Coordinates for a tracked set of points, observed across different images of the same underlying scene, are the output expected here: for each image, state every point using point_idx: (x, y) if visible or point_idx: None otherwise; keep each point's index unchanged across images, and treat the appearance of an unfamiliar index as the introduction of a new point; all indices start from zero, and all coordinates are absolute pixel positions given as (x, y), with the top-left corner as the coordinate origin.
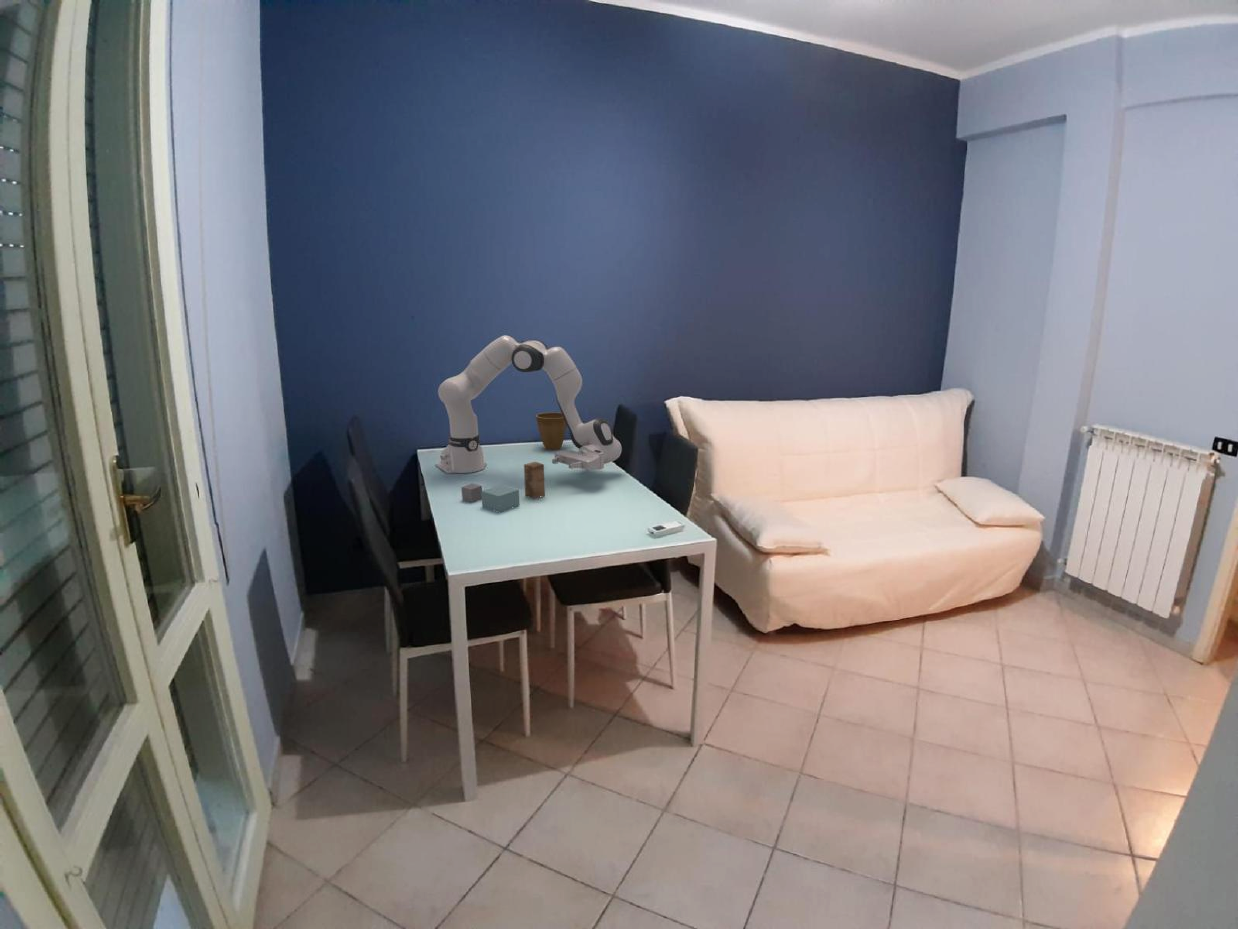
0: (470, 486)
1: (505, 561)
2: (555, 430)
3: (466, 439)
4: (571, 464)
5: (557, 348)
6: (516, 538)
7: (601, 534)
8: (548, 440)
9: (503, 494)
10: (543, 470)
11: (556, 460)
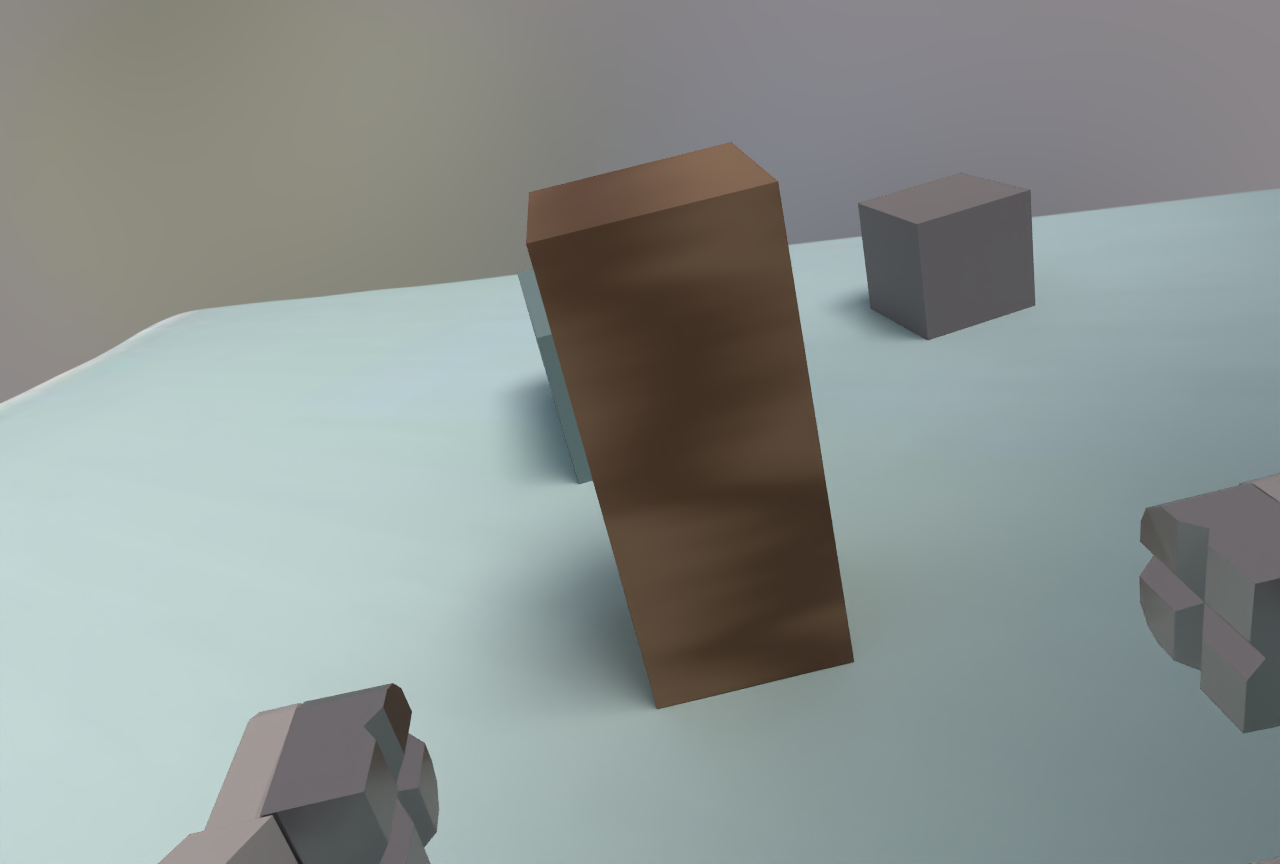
0: (944, 193)
1: (63, 387)
2: None
3: None
4: (259, 716)
5: None
6: (158, 423)
7: None
8: None
9: (526, 284)
10: (557, 346)
11: (1211, 583)
